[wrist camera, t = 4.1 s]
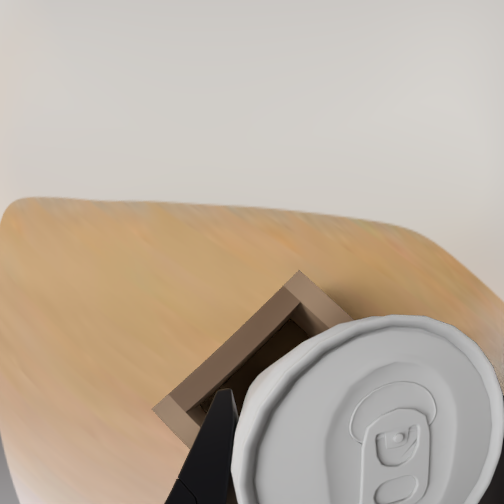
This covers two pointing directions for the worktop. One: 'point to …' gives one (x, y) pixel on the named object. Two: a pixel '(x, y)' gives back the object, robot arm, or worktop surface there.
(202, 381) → the square wooden frame
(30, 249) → the worktop surface
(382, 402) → the beverage can
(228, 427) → the robot arm
